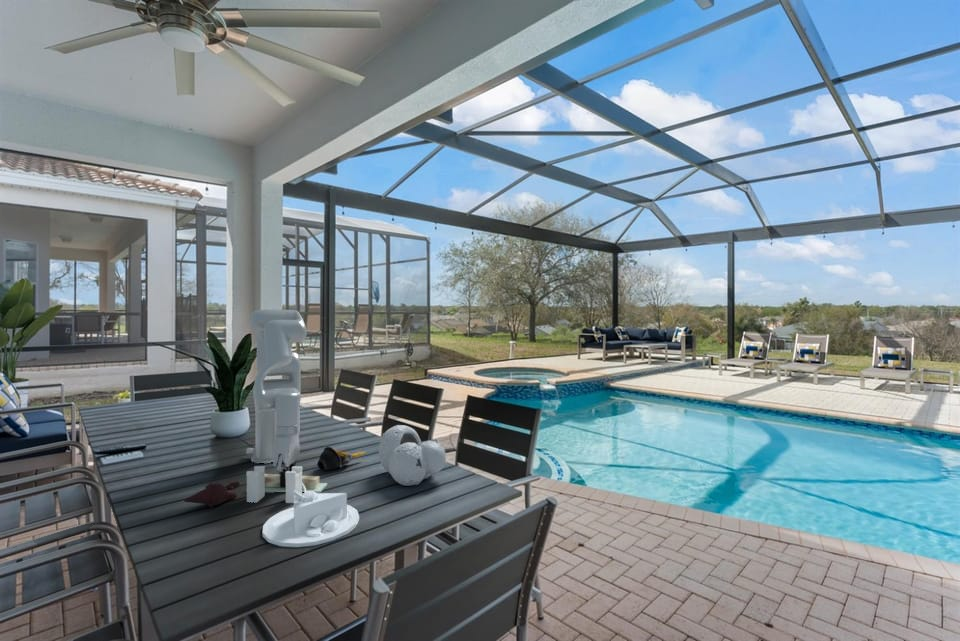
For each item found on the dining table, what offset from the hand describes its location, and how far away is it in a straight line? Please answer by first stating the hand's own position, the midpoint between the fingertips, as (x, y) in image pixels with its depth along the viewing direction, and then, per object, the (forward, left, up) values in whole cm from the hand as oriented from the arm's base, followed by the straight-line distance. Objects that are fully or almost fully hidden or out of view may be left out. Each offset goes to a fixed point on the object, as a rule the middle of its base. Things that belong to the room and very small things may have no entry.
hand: (287, 484), depth 151 cm
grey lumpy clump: (+38, +11, -2) cm, 40 cm away
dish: (+18, -25, -2) cm, 31 cm away
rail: (0, 0, -1) cm, 1 cm away
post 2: (+6, -9, -1) cm, 11 cm away
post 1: (-6, -9, -1) cm, 11 cm away
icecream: (-17, -14, -2) cm, 22 cm away
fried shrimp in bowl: (+11, +22, -2) cm, 25 cm away
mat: (0, 0, -1) cm, 1 cm away
